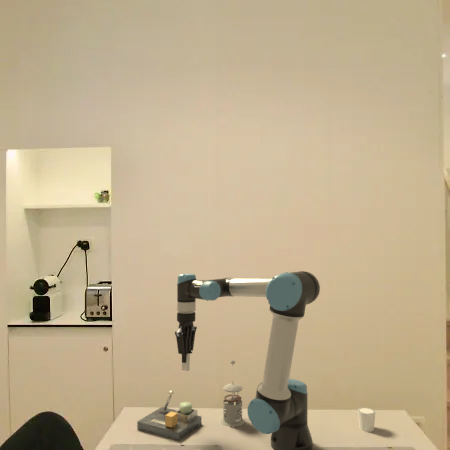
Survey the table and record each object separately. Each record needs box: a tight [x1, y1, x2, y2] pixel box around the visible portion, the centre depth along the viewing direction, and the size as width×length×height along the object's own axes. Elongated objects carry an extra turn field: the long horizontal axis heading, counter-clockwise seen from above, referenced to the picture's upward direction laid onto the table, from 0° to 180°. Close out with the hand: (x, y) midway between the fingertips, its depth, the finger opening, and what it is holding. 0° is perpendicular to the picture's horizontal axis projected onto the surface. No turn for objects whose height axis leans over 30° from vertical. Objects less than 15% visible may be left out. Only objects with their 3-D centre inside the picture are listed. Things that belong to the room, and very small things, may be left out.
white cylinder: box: [356, 406, 376, 433], centre depth 160 cm, size 7×7×7 cm
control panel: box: [136, 406, 202, 442], centre depth 162 cm, size 20×16×6 cm
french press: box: [220, 360, 245, 428], centre depth 168 cm, size 10×12×25 cm
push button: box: [179, 401, 193, 414], centre depth 163 cm, size 5×5×3 cm
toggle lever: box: [163, 390, 175, 411], centre depth 167 cm, size 2×2×10 cm
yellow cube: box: [165, 412, 178, 428], centre depth 156 cm, size 3×4×4 cm
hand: (185, 369), depth 164 cm, fingers closed
